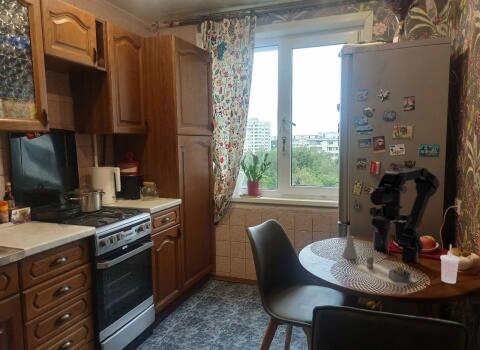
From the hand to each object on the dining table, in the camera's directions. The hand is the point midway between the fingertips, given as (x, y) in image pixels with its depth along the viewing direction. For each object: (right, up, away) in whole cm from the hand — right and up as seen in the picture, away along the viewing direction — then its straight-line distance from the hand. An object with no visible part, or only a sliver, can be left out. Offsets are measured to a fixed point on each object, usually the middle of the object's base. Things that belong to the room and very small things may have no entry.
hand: (390, 240), depth 136 cm
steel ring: (-2, -12, -11) cm, 17 cm away
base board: (-5, -13, -5) cm, 15 cm away
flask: (-12, -11, +14) cm, 21 cm away
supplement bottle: (+6, -10, +25) cm, 28 cm away
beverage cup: (+17, -13, -11) cm, 24 cm away
